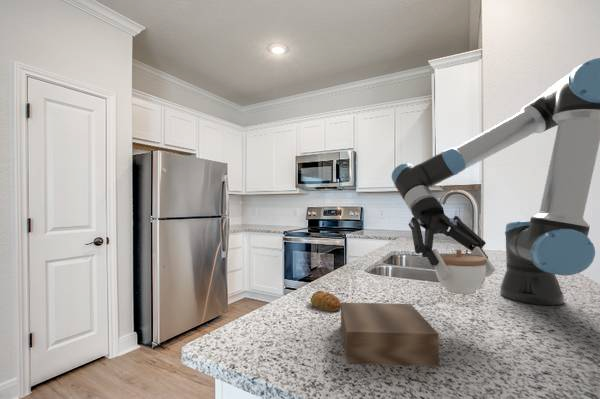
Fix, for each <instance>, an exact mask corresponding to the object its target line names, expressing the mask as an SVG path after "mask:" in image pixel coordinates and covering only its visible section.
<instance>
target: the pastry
mask: <svg viewBox="0 0 600 399" xmlns="http://www.w3.org/2000/svg"><path fill="white" fill-rule="evenodd" d="M310 303H311V304H312V306H313V307H315V308H316V309H320V310H323V311H326V312H337V311H340V310H341V303H342V302H341V300H340V299H339V298H338V297H337V296H335V295H334V294H333V293H330V292H329V291H328V292H325V291H324V290H317V291H315V292H314V293H312V295H311V298H310Z"/></svg>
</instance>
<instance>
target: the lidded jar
mask: <svg viewBox="0 0 600 399" xmlns="http://www.w3.org/2000/svg"><path fill="white" fill-rule="evenodd" d="M439 254H440V256H441V257H442V259H443V261H444V262H445V264H446V266H447V267H448V269H449V271H450V272H451V274H450V275H449V276H448V277H447V279H446V280H442V279H441V277H440V275H439V273H438V272H437V270H436V268H435V267H434V270H435V273H436V277H437V280H438V282H439V283H440V284H441V285H442V286H443V287H444V288H445V290H446V291H448V292H450V293H454V294H459V295H460V294H462V295H473V294H476V292H477V291H478V290H479V289H480V288H481V287H482V286H484V283H485V280H486V263H487V260H486V258H485V257H482V256H478V255H471V254H470V253H462V249H456V253H454V252H453V253H451V252H450V253H449V252H448V253H439Z"/></svg>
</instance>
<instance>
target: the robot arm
mask: <svg viewBox="0 0 600 399" xmlns="http://www.w3.org/2000/svg"><path fill="white" fill-rule="evenodd" d="M554 127H557V128H556V133H555V137H554V141H553V142H554V143H553V146H552V153H551V156H550V161H549V165H548V171H547V175H546V180H545V184H544V190H543V193H542V194H543V195H542V199H541V204H540V208H539V212H538V213H535V214H533V215H532V216H530V220H522V221H521V220H520V221H517V220H515V221H510V222H508V223H506V225H505V231H504V235H505V255H506V257H505V258H506V259H505V260H506V269H505V270H506V271H505V273H504V275H503V276H504V277H503V279H502V283H501V284H500V295H501V296H503V297H505V298H507V299H510V300H513V301H516V302H522V303H524V304H525V303H526V304H532V305H539V306H540V305H541V306H560V305H563V304H564V302H565V300H564V298H565V297H564V292H563V291H562V289H561V286H560V283H559V281H558V279H557V276H564V277H567V276H575V275H578V274H580V273H581V272H584V271H585V270H587V269H588V268H589V267H590V266H591V265H592V263H593V262H594V259H595V257H596V248H595V245H594V243H593V242H592V241H591V240H590V238H589V232H590V225H589V224H588V222H587V221H586V220H585V219H584V215H585V210H586V206H587V202H588V197H589V193H590V187H591V183H592V179H593V174H594V169H595V165H596V161H597V156H598V151H599V147H600V57H597V58H596V57H595V58H593V59H590V60H588V61H585V62H583V63H582V64H580V65H578V66H576V67H575V68H573V69H572V70H571V71H570V73H568V74H567V75H565V76H564V77H563V78H561V79H560V80H558V81H557V82H556V83H554V84H552V86H550V87H549V88H548V89H547V90H546V91H545V92H543V93H542V94H541V95H540V96H538V97H537V98H535V99H534V100H533V101H531V102H528V104H526V105H524V106H523V107H522V108H521V110H520V112H518V113H515V115H513V116H511V117H509V118H506V120H504V121H502V122H500V123H498V124H496V125H494V126H492V127H490V128H489V129H487V130H486V131H484V132H482V133H480V134H478V135H476V136H474V137H472V138H471V139H469V140H468V141H465V142H464V143H462V144H459V146H456V147H450V148H448V149H446V150H442V151H441V152H439V153H438V154H435V155H434V156H432V157H430V158H429V159H426V160H425V161H422V162H420V163H418V164H416V165H413V164H411V163H407V162H406V163H401V164H399V165H397V166H396V167H394V169H393V171H392V172H391V180H392V182H393V184H394V186H395V188H396V189H397V191H398V193H399V195H400V196H401V198H402V199H403V201H404V203H405V204H406V206H407V207H408V209H409V211H410V212H411V215H412V216H413V217H411V219H410V221H409V223H408V227H409V228H410V230H411V233H412V240H413V241H412V242H413V245H414V252H415V253H416V254H421V256H422V257H423V258H427V260H428V262H429V264H430V265H431V266H433V267H434V269H435V268H436V270H437V272H438V273H439V275H440V277H441V279H442V280H446V279H447V277H448V276H449V275H450V274H451V272H450V271H449V269H448V267H447V266H446V264H445V262H444V261H443V259H442V257H441V256H440V254H441V253H439V250H438V249H437V248H433V246H434V244H433V243H434V235H437V234H439V235H440V234H441V235H442V234H443V235H445V236H446V237H451V238H452V239H453V240H454V241H456V242H458V243H459V244H461V245H462V246H463V247H465V248H466V249H468V250H469V251H471V252H470V253H469V254H471V255H478V256H482V257H485V258H486V260H487V263H486V277H491V275H492V274H493V273H494V272H495V271H496V268H495V266H494V265H493V264H492V263H491V261H490V260H489V256H488V255H487V253H486V252H485V251H484V250H483V247H484V246H485V245H486V241H485V240H483V238H481V237H480V236H479V235H478V234H477V233H475V231H473V229H471V228H470V227H468V226H467V225H466V224H465V223H464V221H462V220H461V218H460V217H459V216H457V215H455V216H454V217H453V218H452V217H451V218H450V217H449V216H448V215H446V213H445V210H444V207H443V206H442V203H441V202H440V201H439V199H437V197H436V196H435V194H434V192H433V191H432V190H431V189H430V188H431V187H433V186H435V185H438V184H440V183H441V182H443V181H446V180H448V179H450V178H451V177H454V176H456V175H458V174H459V173H461V172H463V171H465V170H466V169H468V168H469V167H471V166H474V165H475V164H477V163H480V162H481V161H483V160H485V159H487V158H489V157H491V156H493V155H495V154H496V153H498V152H501V151H502V150H504V149H506V148H508V147H509V146H511V145H514V144H515V143H518V142H519V141H522V140H523V139H525V138H528V137H529V136H530V135H533V134H535V133H536V134H542V133H544V132H546V131H547V130H550V129H553V128H554ZM421 228H423V229H424V230H425V231H424V238H423V233H422V232H423V231H422V229H421ZM486 277H485V278H486Z"/></svg>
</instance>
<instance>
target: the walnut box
mask: <svg viewBox="0 0 600 399" xmlns="http://www.w3.org/2000/svg"><path fill="white" fill-rule="evenodd" d="M340 303H341V309H340V328H341V329H340V330H341V333H342V342H343V346H344V352H345V358H346V364H347V365H348V364H351V365H353V364H354V365H377V366H378V365H383V366H386V365H387V366H407V367H409V366H412V367H413V366H414V367H415V366H416V367H440V344H439V342H440V339H439V333H438V332H437V331H436V330H435V328H434V327H432V325H431V324H430V323H429V322H428V321H427V320H426V319H425V318H424V317H423V315H421V313H420V312H419V310H417V309H416V307H414V306H413V305H412V303H386V302H385V303H383V302H382V303H381V302H380V303H379V302H377V303H375V302H370V303H369V302H340Z"/></svg>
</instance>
